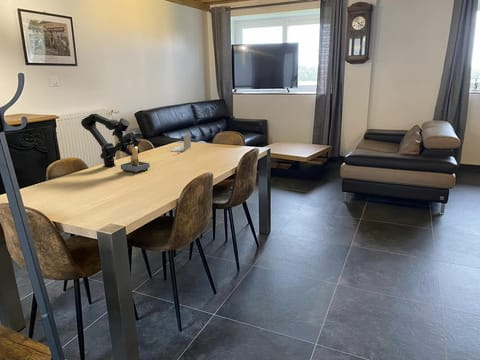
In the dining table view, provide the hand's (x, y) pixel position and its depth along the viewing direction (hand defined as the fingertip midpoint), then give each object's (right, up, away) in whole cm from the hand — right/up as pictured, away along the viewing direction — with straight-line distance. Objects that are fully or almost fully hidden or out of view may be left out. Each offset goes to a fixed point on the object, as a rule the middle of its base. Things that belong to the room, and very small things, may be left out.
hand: (135, 154), depth 234 cm
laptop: (+18, +9, +68) cm, 71 cm away
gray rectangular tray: (-1, -10, +4) cm, 11 cm away
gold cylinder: (-1, -7, +3) cm, 8 cm away
